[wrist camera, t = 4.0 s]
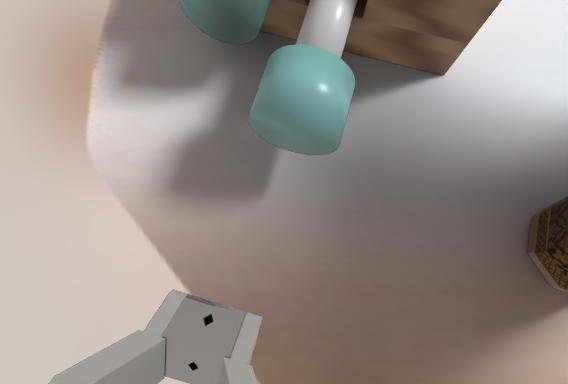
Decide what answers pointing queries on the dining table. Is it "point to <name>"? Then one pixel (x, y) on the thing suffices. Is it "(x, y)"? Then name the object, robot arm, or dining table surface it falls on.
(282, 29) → the block
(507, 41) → the dining table surface
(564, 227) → the ceramic cup
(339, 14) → the knob
